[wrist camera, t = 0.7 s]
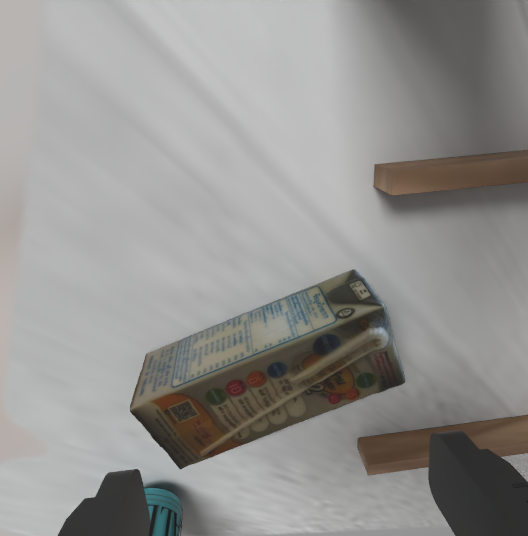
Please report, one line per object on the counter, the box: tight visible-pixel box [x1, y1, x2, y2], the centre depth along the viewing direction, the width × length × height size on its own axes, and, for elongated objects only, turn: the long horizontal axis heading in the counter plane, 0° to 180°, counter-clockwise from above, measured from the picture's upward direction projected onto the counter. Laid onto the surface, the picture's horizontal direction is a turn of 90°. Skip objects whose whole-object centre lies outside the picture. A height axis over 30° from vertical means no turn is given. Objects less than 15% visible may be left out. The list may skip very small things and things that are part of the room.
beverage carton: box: [130, 270, 405, 469], centre depth 26 cm, size 8×19×7 cm, turn 112°
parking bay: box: [358, 150, 528, 475], centre depth 28 cm, size 29×22×3 cm
